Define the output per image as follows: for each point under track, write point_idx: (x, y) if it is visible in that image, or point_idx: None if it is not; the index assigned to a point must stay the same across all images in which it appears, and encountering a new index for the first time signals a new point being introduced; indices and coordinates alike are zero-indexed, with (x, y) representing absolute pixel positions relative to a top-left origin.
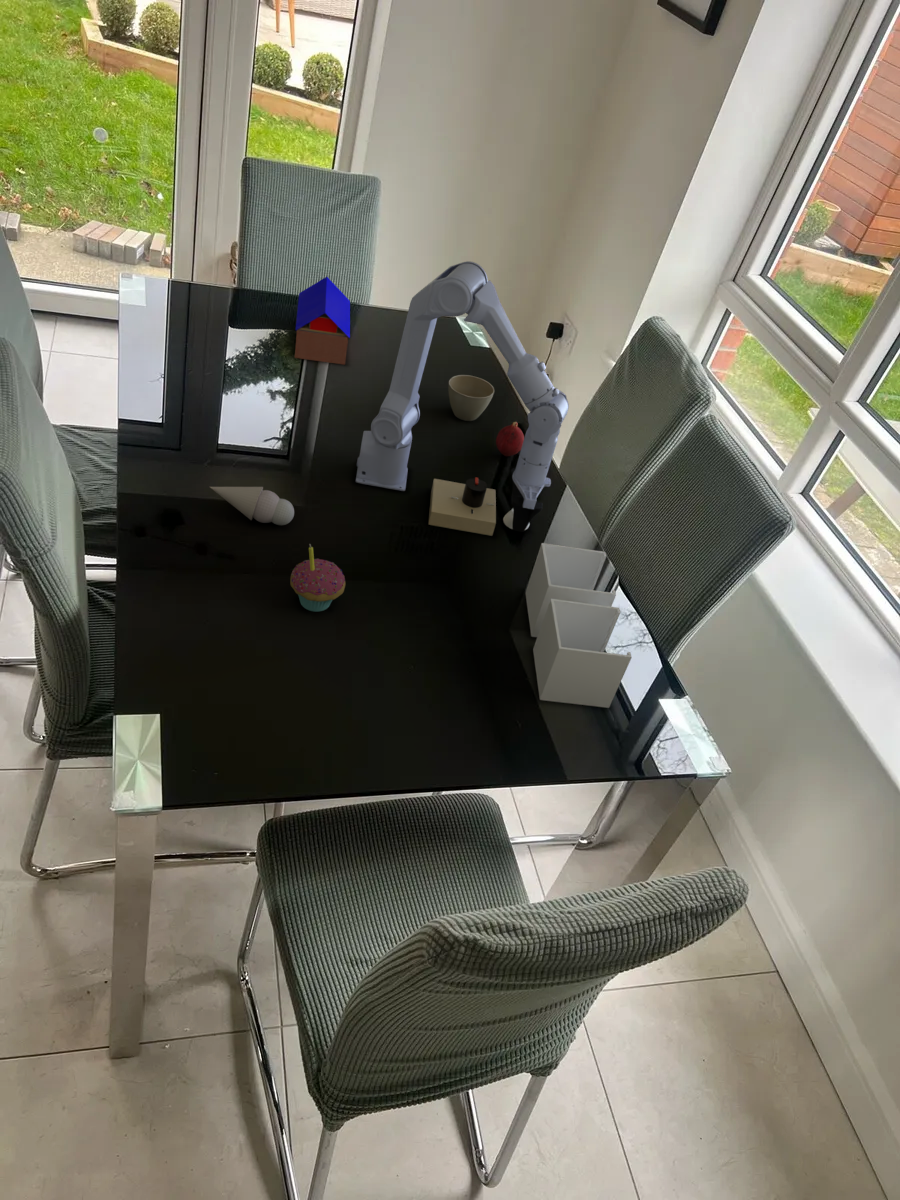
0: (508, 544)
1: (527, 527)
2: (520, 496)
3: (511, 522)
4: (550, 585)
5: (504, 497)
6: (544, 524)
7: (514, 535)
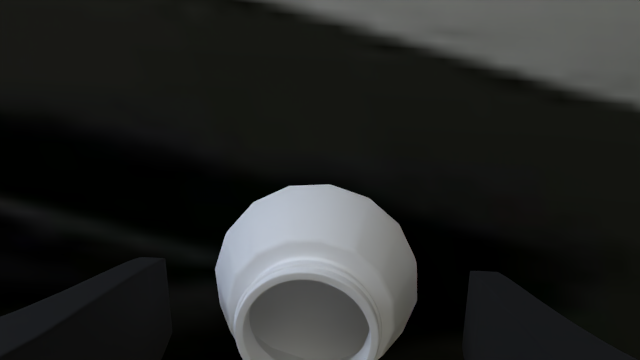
0: None
1: (376, 209)
2: (113, 358)
3: (388, 348)
4: None
5: None
6: (245, 46)
7: (453, 285)
